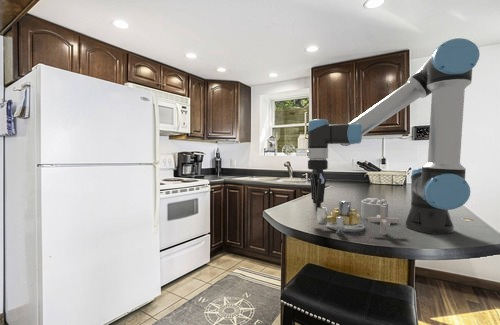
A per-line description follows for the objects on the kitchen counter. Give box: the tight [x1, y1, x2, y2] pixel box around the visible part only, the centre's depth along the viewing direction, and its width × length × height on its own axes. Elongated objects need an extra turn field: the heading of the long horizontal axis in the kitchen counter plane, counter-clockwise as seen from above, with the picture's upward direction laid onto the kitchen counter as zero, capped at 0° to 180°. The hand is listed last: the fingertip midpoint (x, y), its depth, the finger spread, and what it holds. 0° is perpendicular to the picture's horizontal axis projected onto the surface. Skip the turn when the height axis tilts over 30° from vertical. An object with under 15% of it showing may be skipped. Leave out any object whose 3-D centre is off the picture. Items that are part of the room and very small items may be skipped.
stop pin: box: [335, 217, 344, 236], centre depth 91 cm, size 2×2×6 cm
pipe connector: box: [366, 206, 400, 236], centre depth 91 cm, size 10×10×10 cm
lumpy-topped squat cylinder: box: [360, 197, 389, 220], centre depth 116 cm, size 10×13×9 cm
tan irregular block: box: [316, 206, 361, 226], centre depth 99 cm, size 18×11×6 cm, turn 113°
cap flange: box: [325, 200, 365, 233], centre depth 101 cm, size 14×14×10 cm
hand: (317, 219), depth 101 cm, fingers closed
